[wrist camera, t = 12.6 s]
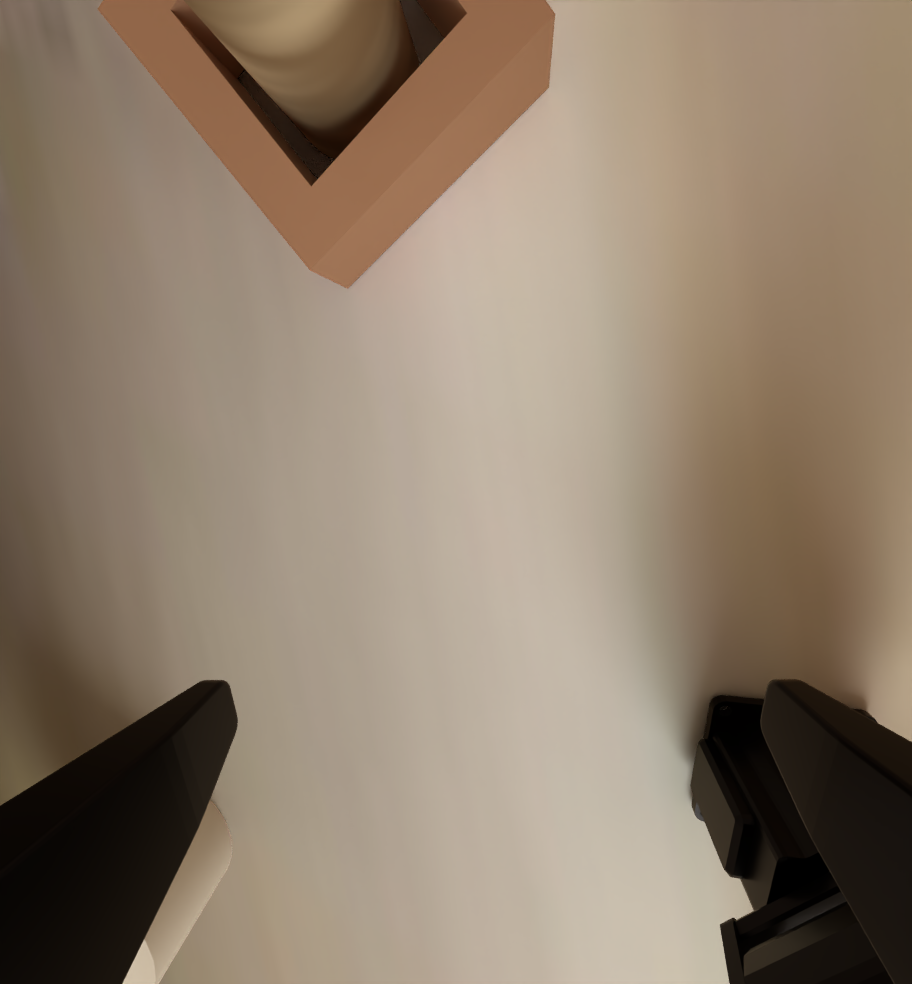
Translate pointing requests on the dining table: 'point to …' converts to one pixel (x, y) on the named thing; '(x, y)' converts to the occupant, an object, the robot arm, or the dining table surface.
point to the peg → (318, 58)
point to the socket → (382, 142)
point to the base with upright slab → (184, 898)
